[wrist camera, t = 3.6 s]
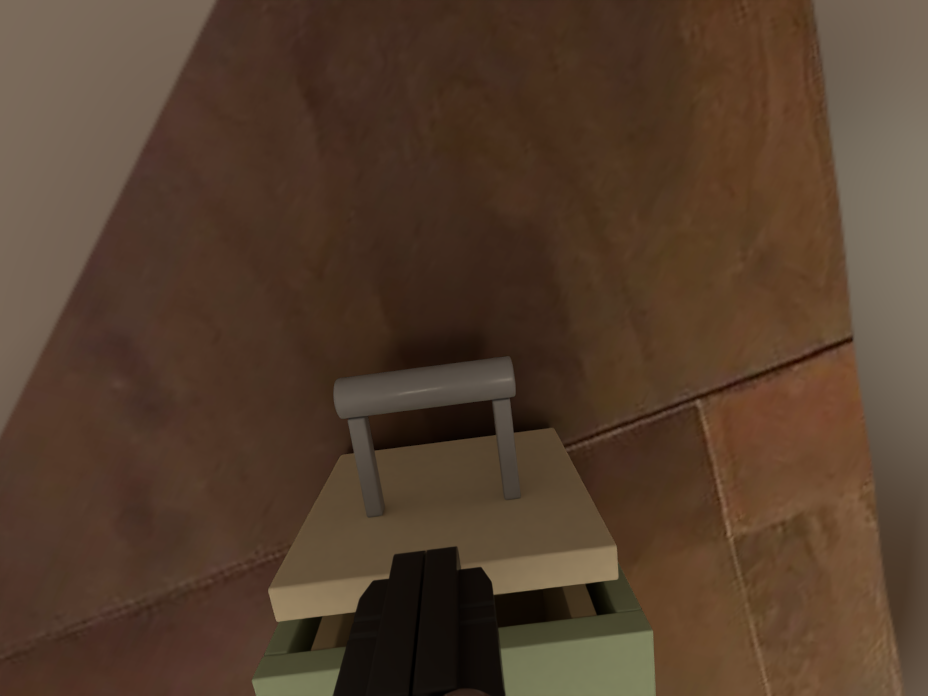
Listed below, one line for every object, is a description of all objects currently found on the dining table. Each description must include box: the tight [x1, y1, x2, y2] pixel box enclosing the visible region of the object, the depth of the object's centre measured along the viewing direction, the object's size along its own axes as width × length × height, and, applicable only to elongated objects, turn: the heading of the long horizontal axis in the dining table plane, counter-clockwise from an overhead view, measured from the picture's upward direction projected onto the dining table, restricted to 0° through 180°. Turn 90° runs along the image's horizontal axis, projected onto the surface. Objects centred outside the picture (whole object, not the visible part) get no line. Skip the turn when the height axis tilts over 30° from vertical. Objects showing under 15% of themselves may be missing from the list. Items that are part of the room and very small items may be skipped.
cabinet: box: [252, 563, 656, 696], centre depth 20 cm, size 14×12×11 cm
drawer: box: [268, 356, 619, 651], centre depth 18 cm, size 18×10×9 cm, turn 7°
